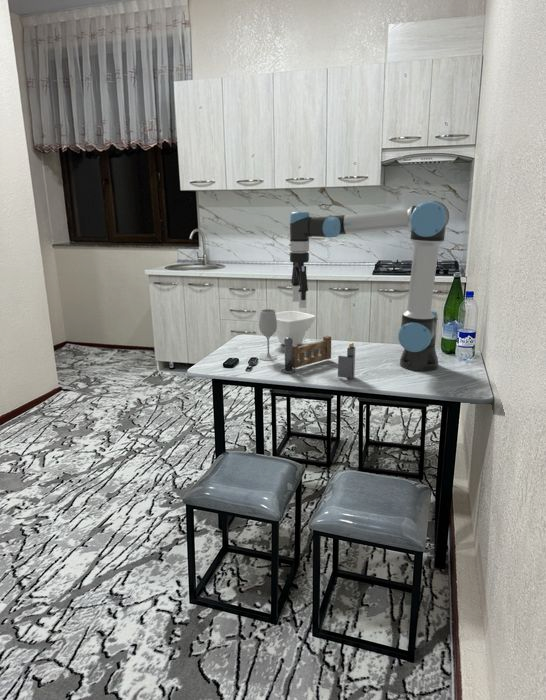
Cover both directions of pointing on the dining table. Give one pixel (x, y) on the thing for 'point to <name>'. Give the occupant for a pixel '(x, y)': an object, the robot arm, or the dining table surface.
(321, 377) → the dining table surface
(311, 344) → the gate
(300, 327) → the bowl
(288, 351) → the hinge post
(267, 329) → the wineglass
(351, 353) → the stile post
